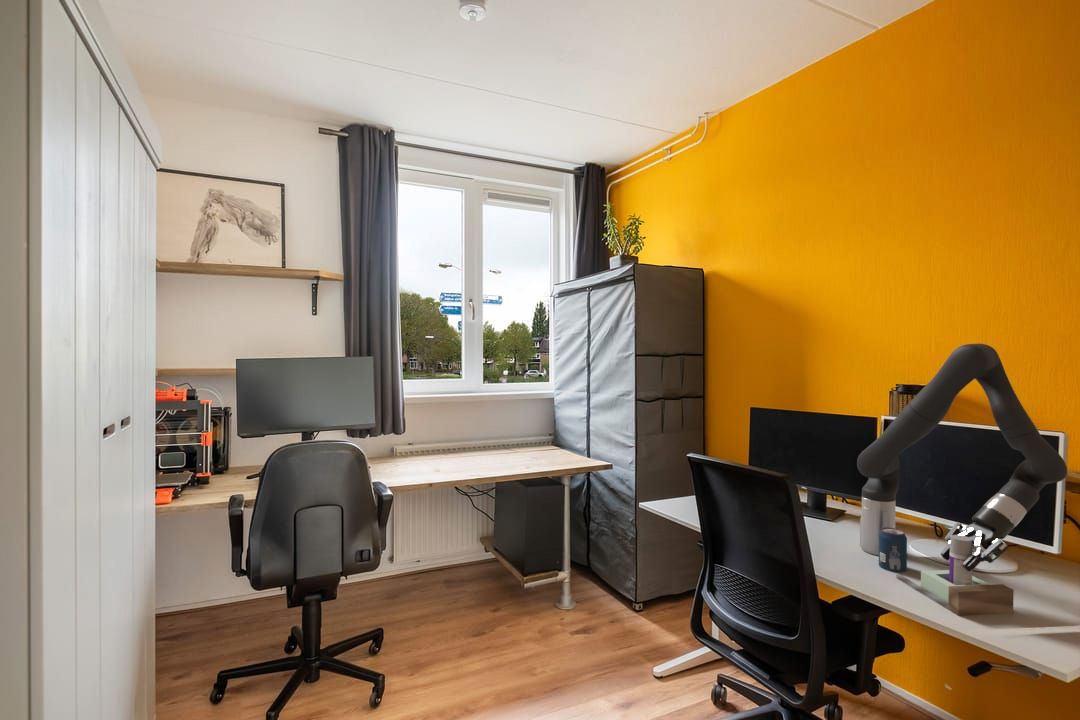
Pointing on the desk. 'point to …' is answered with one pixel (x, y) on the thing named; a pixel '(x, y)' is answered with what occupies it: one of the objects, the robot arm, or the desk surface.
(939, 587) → the socket block
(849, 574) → the desk surface
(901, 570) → the soda can
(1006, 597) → the walnut track
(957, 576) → the container
